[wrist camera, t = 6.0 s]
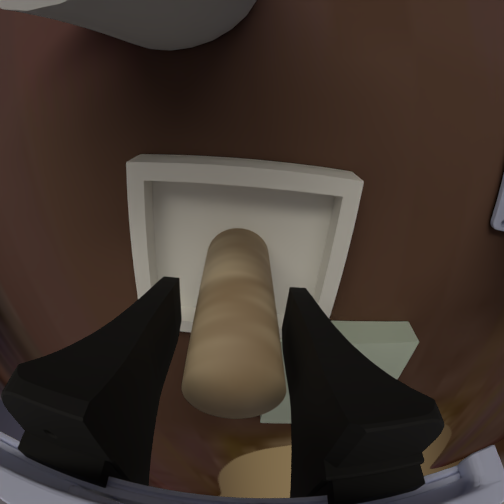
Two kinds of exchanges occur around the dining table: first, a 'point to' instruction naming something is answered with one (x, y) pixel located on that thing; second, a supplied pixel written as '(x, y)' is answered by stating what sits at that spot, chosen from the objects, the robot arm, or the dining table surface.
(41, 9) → the cup
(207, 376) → the peg
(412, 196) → the dining table surface
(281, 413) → the holder
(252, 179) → the tray
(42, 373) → the robot arm
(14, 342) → the dining table surface
